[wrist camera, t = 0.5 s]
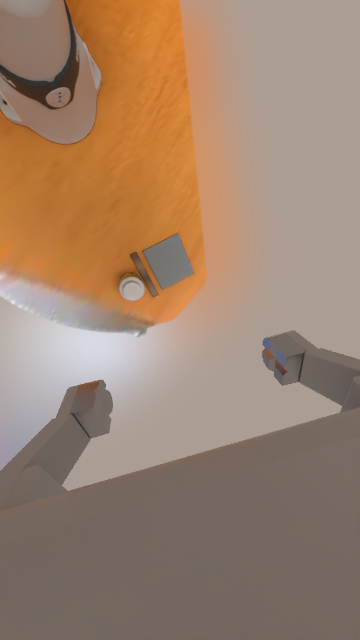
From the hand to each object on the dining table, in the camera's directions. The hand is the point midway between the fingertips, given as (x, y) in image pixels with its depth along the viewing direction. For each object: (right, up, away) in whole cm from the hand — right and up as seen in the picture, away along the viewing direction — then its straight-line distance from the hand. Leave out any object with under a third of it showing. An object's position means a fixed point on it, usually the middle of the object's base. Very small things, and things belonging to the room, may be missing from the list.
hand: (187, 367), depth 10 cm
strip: (-10, +14, +42) cm, 45 cm away
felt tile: (-3, +18, +43) cm, 46 cm away
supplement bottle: (-13, +12, +42) cm, 46 cm away
